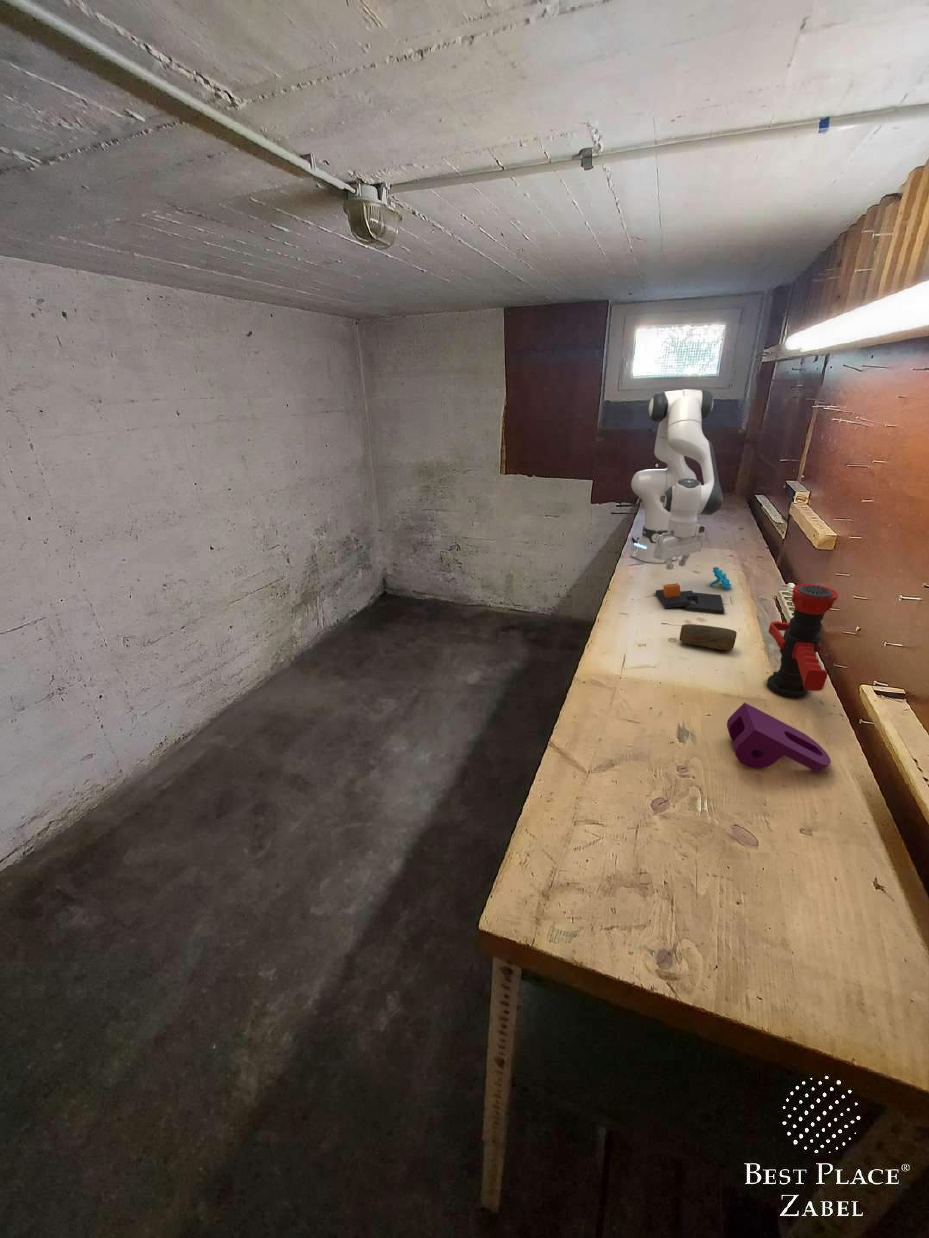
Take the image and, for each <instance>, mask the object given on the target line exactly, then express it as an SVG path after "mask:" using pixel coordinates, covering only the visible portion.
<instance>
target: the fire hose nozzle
mask: <svg viewBox="0 0 929 1238" xmlns="http://www.w3.org/2000/svg"><path fill="white" fill-rule="evenodd" d="M791 592H792V596H791V602H792V604H793V606H794V609H793V613H792V614H793V616H792V617H791V618H790V620H789V622H784V621H780V620H775V621H771V622H770V623H769V627H768V631H767V632H768V633H769V635H770V636H771V637H772V638H773V639H774V641H775V643H776V644H777V646H778V648H779V653H780V655H781V657H780V666H779V669H778V670H777V671H773V673H772V674H771V675H769V676H768V678H767V682H766V688H767V689H768V690H769V691H771V692H772V694H773V693H774V694H776V695H778V696H779V697H783V698H787V699H802V698H803V699H804V698H805V697H806V696H807V694H808V691H813V692H820V691H823V690H824V687H825V683H826V681H827V677H828V672H827V670H826V669H822V666H821V665H820V661H819V659H818V657H817V653H820V652H821V650H822V644H821V638H820V636H819V634H820V632H821V631H822V627H823V623H822V622H821V621H823V619H824V617H825V614H826V613H827V612H828V611H830V610H831V609H832V608H833V605H834V603H835V602H836V601H837V600H838V596H839V593H838V592H837V591H836V590H835V589H832V588H830V587H828V586H824V585H820V584H813V583H812V584H811V583H800V584H797V585H794V586H793V588H792V591H791ZM781 631H784V633H783V634H782V633H781Z"/></svg>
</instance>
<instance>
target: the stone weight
mask: <svg viewBox="0 0 929 1238" xmlns="http://www.w3.org/2000/svg"><path fill="white" fill-rule="evenodd" d="M737 635H738V633H737V631H736V630H734V629H730V628H726V627H719V626H713V625H704V624H695V623H685V624H682V625H681V627H680V632H679V637H678V640H679V641H680V642H682V643H685V644H688V645H692V646H696V647H700V648H701V647H703V648H708V649H713V650H719V651H721V650H722V651H732V650H733V649H734V647H735V644H736V640H737Z"/></svg>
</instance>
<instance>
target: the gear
mask: <svg viewBox="0 0 929 1238" xmlns="http://www.w3.org/2000/svg"><path fill="white" fill-rule="evenodd" d="M712 573H713V575H714V577H715V578H716V579H715V580H714V581H712V582H711V583H709V586H710V587H712V586H714V585H715V584H717V583H721V584H720V585H721V586H722V587H723V588H725V589H726V590H731V589H732V583H731V581H730V579H729V578H727V573H726V572H723V570H722V569H720V568H719V567H718V566H714V567H712Z"/></svg>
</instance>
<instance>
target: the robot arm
mask: <svg viewBox="0 0 929 1238" xmlns="http://www.w3.org/2000/svg"><path fill="white" fill-rule="evenodd" d="M713 407H714V396H713V393H712V391H710V390H707V389H679V390H670V391H669V390H668V391H658V392H656V393H655V394H653V396H652V397H651V399H650V401H649V405H648V415H649V418H650V419H651V421H653V422H656V423H658V427H657V432H656V438H655V444H654V451H653V452H654V453H653V454H654V455H655V458H656V459H658V460H659V461H660V462H662V463H665V464H666V468H652V469H651V468H650V469H648V468H647V469H643V470H639V471H636V472H635V474H634V475H633V476H632V479H631V489H632V492H633V493H634V494H635V495H636V496H637V497H638V498H639V499H640V500H641V502H642V503H643V507H644V525H643V527H642V529H641V531H642V532H641V535H640V536H637V537H636V539H635V537H634V536H631V540H632V541H633V545H634V546H636V549H635V550H634V551H633V552H632V553H631V558H634V559H638V560H639V561H642V562H645V563H652V564H653V563H654V564H661V563H665V564H666V566H665V568H666V569H667V570H669V571H670V570H673V569H674V567H675V564H674V563H672V561H676V560H677V558H678V557H681V559H680V560H678V566H679V567H685V566H686V564H687V561H688V560H689V558H690V556H691V554H695V553H698V552H701V551H702V549H703V548H704V543H705V538H706V534H705V533H706V532H707V528H708V527H707V526H706V525H704V524H700V523H698V515H703V516H711V515H713V514H715V513H716V512H717V511H719V510H720V509H721V508H722V505H723V499H724V498H723V491H722V487H721V484H720V479H719V474H718V468H717V462H716V456H715V450H714V446H713V444H712V441H711V440H709V439H707V437H706V435H704V432H703V427H702V426H703V425H702V424H703V420H706V419H707V418H708V417H709V416H710V415H711V412H712V410H713ZM685 457H688V458H689V459H692V460H694V461H695V462H697V463H698V464H699V465H700V468H701V474H702V481H703V485H702V482H701V481H700V480H698V479H697V475H696V473H695V472H694V471H693V470H692V469H691V468H690V467H689V465H687V462H686V460H685V459H686V458H685ZM661 497H664V500H663V502H662V501H661Z"/></svg>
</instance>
